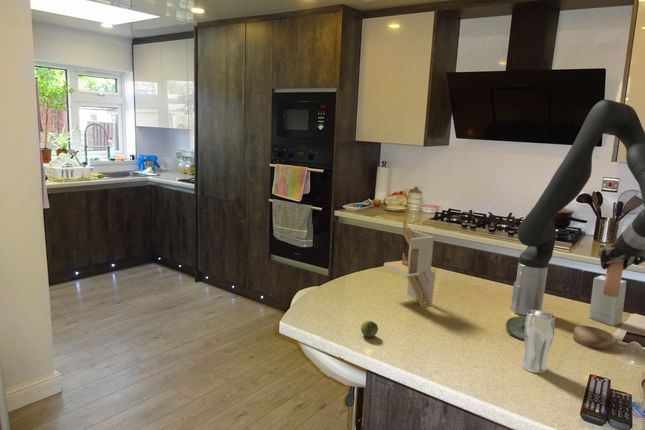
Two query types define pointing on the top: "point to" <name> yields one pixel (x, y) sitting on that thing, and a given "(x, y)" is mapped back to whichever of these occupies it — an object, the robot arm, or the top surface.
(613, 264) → the pink drinking glass
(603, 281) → the skincare box
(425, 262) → the staircase
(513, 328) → the lid
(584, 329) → the base
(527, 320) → the beer glass
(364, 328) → the lime
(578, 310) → the top surface
